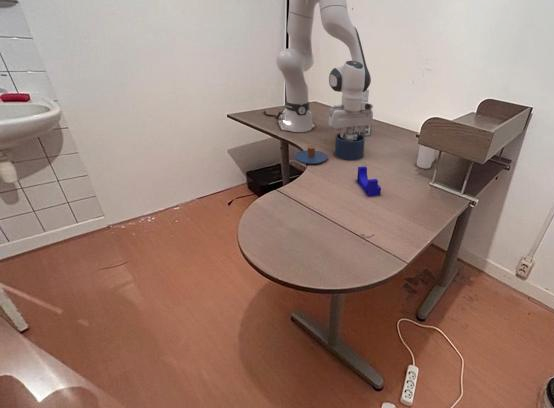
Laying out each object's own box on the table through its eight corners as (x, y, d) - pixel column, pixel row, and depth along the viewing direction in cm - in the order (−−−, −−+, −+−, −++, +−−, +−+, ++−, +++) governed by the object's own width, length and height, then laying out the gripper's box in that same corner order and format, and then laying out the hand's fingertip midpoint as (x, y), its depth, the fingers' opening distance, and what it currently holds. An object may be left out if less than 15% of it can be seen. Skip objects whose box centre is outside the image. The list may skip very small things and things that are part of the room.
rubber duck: (342, 139, 134) (343, 122, 130) (356, 140, 135) (358, 123, 131) (342, 144, 130) (343, 126, 126) (357, 145, 130) (358, 127, 126)
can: (419, 161, 135) (424, 136, 129) (432, 165, 133) (438, 140, 126) (413, 166, 130) (418, 140, 124) (427, 170, 128) (433, 144, 121)
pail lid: (289, 154, 130) (289, 143, 127) (319, 150, 136) (319, 140, 134) (302, 167, 120) (301, 155, 117) (333, 162, 127) (333, 151, 124)
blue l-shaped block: (380, 195, 106) (382, 180, 103) (368, 196, 104) (370, 181, 101) (367, 180, 115) (369, 166, 112) (357, 181, 114) (358, 166, 111)
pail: (330, 151, 137) (330, 133, 132) (354, 148, 143) (355, 130, 139) (343, 162, 128) (344, 143, 123) (368, 158, 134) (370, 140, 130)
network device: (356, 122, 179) (358, 88, 168) (370, 124, 179) (373, 89, 168) (353, 136, 157) (355, 97, 146) (369, 138, 157) (373, 99, 147)
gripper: (333, 107, 117) (332, 141, 124) (376, 105, 126) (372, 136, 134) (326, 103, 121) (325, 136, 128) (368, 101, 131) (365, 132, 138)
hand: (350, 136), depth 131 cm, fingers closed on rubber duck, 6 cm apart
